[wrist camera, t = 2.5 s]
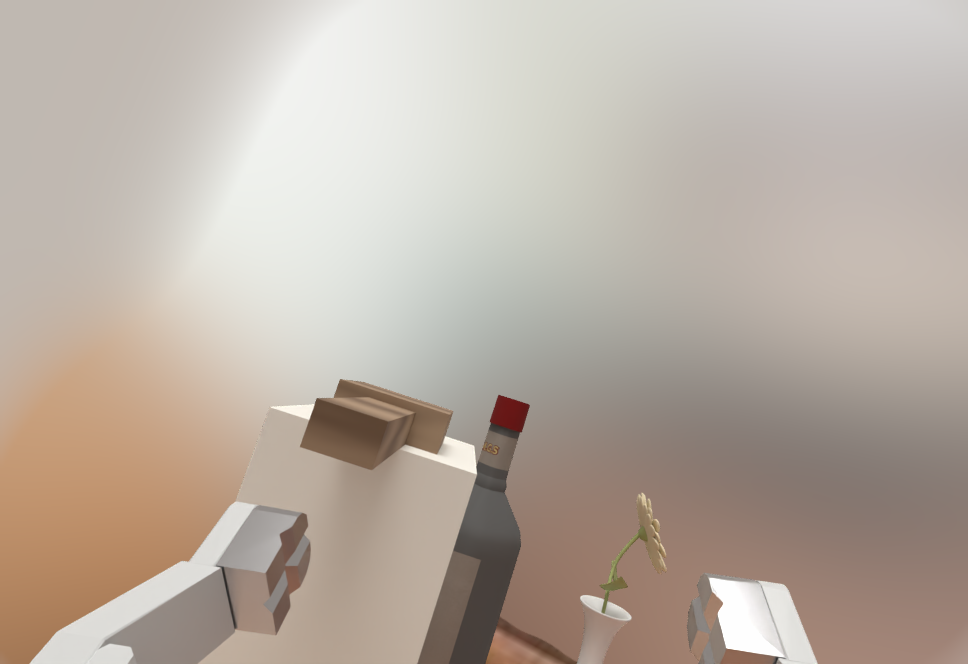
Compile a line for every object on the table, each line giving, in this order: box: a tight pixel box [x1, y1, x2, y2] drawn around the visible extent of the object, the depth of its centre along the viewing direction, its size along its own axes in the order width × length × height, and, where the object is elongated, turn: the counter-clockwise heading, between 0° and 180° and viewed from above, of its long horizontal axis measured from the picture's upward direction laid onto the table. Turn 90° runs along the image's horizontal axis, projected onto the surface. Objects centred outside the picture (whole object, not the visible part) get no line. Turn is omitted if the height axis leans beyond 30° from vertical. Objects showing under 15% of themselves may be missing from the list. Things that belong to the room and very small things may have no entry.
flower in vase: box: [577, 493, 667, 664], centre depth 56 cm, size 13×11×25 cm
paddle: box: [300, 379, 453, 470], centre depth 33 cm, size 20×7×2 cm, turn 2°
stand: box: [198, 404, 477, 664], centre depth 39 cm, size 18×12×25 cm, turn 2°
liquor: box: [417, 395, 530, 664], centre depth 61 cm, size 9×9×30 cm
